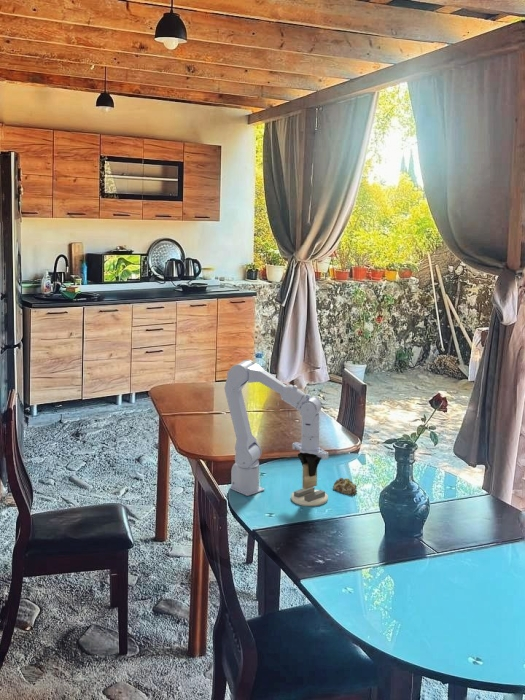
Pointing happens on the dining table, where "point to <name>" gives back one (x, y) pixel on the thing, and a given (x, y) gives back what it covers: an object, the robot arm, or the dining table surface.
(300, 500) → the clip base
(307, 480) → the wooden block
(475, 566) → the dining table surface
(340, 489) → the mineral rock
